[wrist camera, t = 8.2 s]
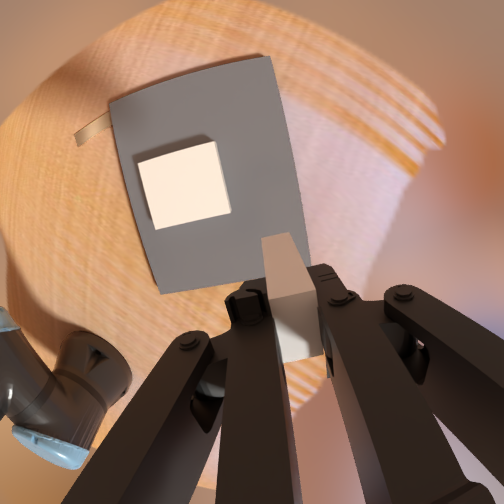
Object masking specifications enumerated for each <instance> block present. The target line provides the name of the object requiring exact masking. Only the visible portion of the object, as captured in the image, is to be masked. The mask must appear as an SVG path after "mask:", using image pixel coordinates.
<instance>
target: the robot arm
mask: <svg viewBox="0 0 504 504" xmlns="http://www.w3.org/2000/svg"><path fill="white" fill-rule="evenodd" d="M261 242H262V250H263V258H264V267H265V275H266V277H263V278H258V279H253V280H249V281H245V282H244V283H243V284H242V285H241V287H240V289H239V290H237V291H235V292H233V293H231V294H230V295H229V296H227V297H226V299H225V301H224V302H225V305H226V308H227V311H228V314H229V317H230V321H231V329H230V330H229V331H227V332H225V333H223V334H221V335H219V336H216V337H213V338H209V336H208V334H207V333H205V332H204V331H198V330H196V331H189V332H186V333H183V334H182V335H180V336H178V337H176V338H175V339H174V340H173V341H172V343H171V344H170V345H169V347H168V348H167V350H166V351H165V352H164V354H163V355H162V357H161V358H160V359H159V361H158V362H157V364H156V365H155V367H154V368H153V369H152V371H151V372H150V374H149V375H148V377H147V378H146V379H145V381H144V382H143V384H142V385H141V387H140V388H139V389H138V391H137V392H136V394H135V395H134V397H133V398H132V399H131V401H130V402H129V404H128V405H127V407H126V408H125V409H124V411H123V412H122V414H121V415H120V417H119V418H118V420H117V421H116V422H115V424H114V425H113V427H112V428H111V430H110V431H109V433H108V434H107V436H106V437H105V438H104V440H103V441H102V443H101V444H100V446H99V447H98V449H97V450H96V452H95V453H94V455H93V456H92V458H91V459H90V461H89V462H88V464H87V465H86V466H85V468H84V469H83V471H82V472H81V474H80V476H79V477H78V478H77V480H76V481H75V483H74V484H73V486H72V487H71V489H70V491H69V492H68V494H67V495H66V496H65V498H64V499H63V501H62V502H61V504H189V502H190V500H191V497H192V495H193V493H194V490H195V488H196V486H197V483H198V481H199V478H200V476H201V474H202V471H203V469H204V466H205V464H206V462H207V459H208V457H209V454H210V452H211V449H212V447H213V444H214V442H215V439H216V437H217V434H218V432H219V429H220V427H221V437H220V449H219V461H218V474H217V486H216V499H215V504H303V501H302V493H301V485H300V477H299V470H298V461H297V454H296V447H295V439H294V431H293V424H292V417H291V410H290V403H289V396H288V389H287V382H286V375H285V370H284V365H283V363H286V362H291V361H296V360H301V359H306V358H310V357H314V356H319V355H323V354H324V353H323V348H324V351H325V356H326V367H327V378H331V381H332V384H333V387H334V390H335V394H336V397H337V400H338V404H339V407H340V410H341V414H342V417H343V421H344V424H345V427H346V431H347V434H348V438H349V441H350V445H351V449H352V452H353V456H354V459H355V463H356V467H357V471H358V474H359V478H360V482H361V486H362V490H363V494H364V498H365V502H366V504H496V503H495V501H494V499H493V497H492V495H491V493H490V492H489V490H488V488H486V487H485V486H484V485H482V484H481V483H476V482H471V481H469V480H468V479H467V478H466V477H465V475H464V474H463V472H462V469H461V467H460V465H459V463H458V461H457V459H456V457H455V455H454V453H453V451H452V449H451V447H450V445H449V443H448V441H447V439H446V437H445V435H444V433H443V431H442V429H441V427H440V426H439V424H438V422H437V420H436V418H435V416H436V417H437V418H438V419H439V420H440V421H441V422H442V423H443V424H444V425H445V426H446V427H447V428H448V429H449V430H450V431H451V432H452V433H453V434H454V435H455V436H456V437H457V438H458V439H459V440H460V441H461V442H462V443H463V444H464V445H465V446H466V447H467V449H468V450H469V451H470V452H471V453H472V454H473V455H474V456H475V457H476V458H477V459H478V460H479V461H480V462H481V463H482V464H483V465H484V466H485V467H486V468H487V469H488V470H489V472H490V473H491V474H492V475H493V476H494V477H495V478H496V479H497V480H498V481H499V482H500V483H501V484H502V485H503V486H504V340H503V339H501V338H500V337H498V336H497V335H495V334H494V333H492V332H491V331H489V330H487V329H486V328H484V327H483V326H481V325H480V324H478V323H476V322H475V321H473V320H471V319H470V318H468V317H466V316H465V315H463V314H462V313H460V312H458V311H457V310H455V309H453V308H452V307H450V306H448V305H447V304H445V303H443V302H442V301H440V300H438V299H436V298H435V297H433V296H431V295H430V294H428V293H426V292H424V291H423V290H421V289H419V288H417V287H415V286H412V285H406V284H402V285H396V286H393V287H391V288H389V289H388V290H386V292H385V293H384V300H379V301H363V300H362V299H361V298H360V296H359V295H358V294H357V293H356V292H354V291H350V290H347V289H346V287H345V286H344V284H343V283H342V281H341V280H340V278H338V275H337V274H336V273H335V271H334V269H333V268H332V267H331V266H329V265H327V264H319V265H315V266H310V267H305V265H304V262H303V260H302V258H301V256H300V254H299V252H298V250H297V248H296V246H295V243H294V241H293V239H292V237H291V235H290V233H289V232H287V233H282V234H277V235H273V236H268V237H263V238H261ZM20 329H21V328H20V327H19V326H18V325H17V324H16V323H15V321H14V320H13V319H12V317H11V316H10V314H9V313H8V311H7V310H6V309H5V308H3V307H1V306H0V421H1V419H2V418H3V417H4V415H6V416H7V417H8V418H9V419H10V420H11V421H12V422H13V423H14V425H13V427H12V434H13V435H14V437H16V438H17V440H18V441H19V442H20V443H22V444H23V445H24V446H25V447H27V448H28V449H29V450H31V451H32V452H34V453H35V454H37V455H39V456H40V457H42V458H44V459H46V460H47V461H49V462H51V463H53V464H56V465H58V466H61V467H63V468H67V469H72V470H73V469H78V468H80V467H81V465H82V463H83V462H84V460H85V458H86V457H87V455H88V454H89V450H90V448H91V445H92V443H93V441H94V439H95V436H96V434H97V432H98V430H99V427H100V425H101V423H102V421H103V419H104V416H105V414H106V412H107V410H108V409H109V408H110V407H111V406H112V405H114V404H115V403H116V402H117V401H118V400H119V399H120V398H121V397H123V396H124V395H125V394H126V393H127V391H128V389H129V387H130V385H131V383H132V373H131V370H130V367H129V365H128V363H127V362H126V360H125V359H124V358H123V356H122V355H121V354H120V353H119V352H118V351H117V350H116V349H115V348H114V347H113V346H112V345H110V344H109V343H108V342H106V341H105V340H103V339H101V338H100V337H98V336H96V335H93V334H90V333H87V332H80V331H79V332H73V333H71V334H69V335H68V337H67V338H66V339H65V340H64V341H63V343H62V344H61V347H60V351H59V354H58V357H57V360H56V364H55V367H54V370H53V371H52V372H51V371H50V369H49V368H48V367H47V365H46V364H45V363H44V362H43V360H42V359H41V358H40V357H39V355H38V354H37V353H36V351H35V350H34V349H33V347H32V346H31V345H30V343H29V342H28V340H27V339H26V337H25V336H24V334H23V333H22V331H21V330H20ZM418 340H419V341H421V342H422V343H423V344H424V346H422V345H420V344H419V343H418ZM433 414H434V415H435V416H434V415H433ZM221 424H222V426H221Z"/></svg>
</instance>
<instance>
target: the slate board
mask: <svg viewBox="0 0 504 504" xmlns="http://www.w3.org/2000/svg"><path fill="white" fill-rule="evenodd" d="M109 107H110V113H111V119H112V124H113V129H114V134H115V139H116V144H117V149H118V153H119V158H120V162H121V167H122V171H123V175H124V179H125V183H126V187H127V191H128V194H129V198H130V202H131V205H132V209H133V213H134V216H135V219H136V223H137V226H138V229H139V233H140V236H141V239H142V242H143V245H144V249H145V252H146V255H147V258H148V261H149V263H150V266H151V269H152V272H153V275H154V278H155V281H156V283H157V286H158V289H159V291H160V294H161V295H162V294H168V293H175V292H181V291H187V290H193V289H199V288H205V287H211V286H217V285H223V284H229V283H235V282H240V281H246V280H252V279H257V278H263V277H266V275H265V267H264V258H263V250H262V242H261V238H263V237H268V236H273V235H277V234H282V233H287V232H289V233H290V235H291V237H292V239H293V241H294V243H295V246H296V248H297V250H298V252H299V254H300V256H301V258H302V260H303V262H304V265H305V267H310V266H311V259H310V252H309V245H308V239H307V232H306V226H305V220H304V213H303V207H302V202H301V196H300V190H299V184H298V179H297V174H296V168H295V163H294V158H293V153H292V148H291V143H290V138H289V134H288V129H287V124H286V120H285V115H284V111H283V106H282V102H281V98H280V93H279V89H278V85H277V81H276V77H275V73H274V69H273V65H272V61H271V58H270V56H266V57H259V58H254V59H248V60H243V61H238V62H233V63H229V64H224V65H220V66H216V67H212V68H208V69H204V70H200V71H197V72H193V73H190V74H186V75H183V76H180V77H177V78H173V79H170V80H167V81H164V82H162V83H159V84H156V85H153V86H150V87H148V88H145V89H142V90H140V91H137V92H135V93H132V94H130V95H127V96H125V97H123V98H120V99H118V100H116V101H114V102H111V103H109ZM213 141H215V142H216V144H217V148H218V152H219V157H220V161H221V166H222V170H223V175H224V179H225V183H226V188H227V192H228V196H229V201H230V205H231V209H232V211H231V213H228V214H223V215H219V216H214V217H210V218H205V219H200V220H196V221H192V222H187V223H183V224H178V225H174V226H170V227H166V228H162V229H157V230H155V226H154V223H153V220H152V216H151V213H150V209H149V205H148V202H147V198H146V194H145V190H144V187H143V183H142V179H141V175H140V171H139V166H138V163H141V162H144V161H147V160H150V159H153V158H156V157H159V156H162V155H166V154H169V153H172V152H176V151H179V150H183V149H186V148H190V147H194V146H197V145H201V144H205V143H209V142H213Z"/></svg>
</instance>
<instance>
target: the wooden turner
mask: <svg viewBox="0 0 504 504" xmlns="http://www.w3.org/2000/svg"><path fill="white" fill-rule="evenodd" d="M112 125H113V124H112V119H111V113H110V111H109V112H107V113H105V114H104V115H102V116H101V117H99V118H98V119H96V120H95V121H93V122H92V123H90V124H89V125H87V126H86V127H84V128H83V129H81V130H80V131H79V132H77V133H76V134H74V136H75V139H76V143H77V146H78V147H80V146H81V145H82V144H84V143H85V142H87V141H88V140H90V139H91V138H93V137H94V136H96V135H97V134H99V133H101V132H102V131H104V130H105V129H107V128H109V127H110V126H112Z"/></svg>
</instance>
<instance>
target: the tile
mask: <svg viewBox="0 0 504 504" xmlns="http://www.w3.org/2000/svg"><path fill="white" fill-rule="evenodd" d="M138 166H139V171H140V175H141V179H142V183H143V187H144V190H145V194H146V198H147V202H148V205H149V209H150V213H151V216H152V220H153V223H154V226H155V230H157V229H162V228H166V227H170V226H174V225H178V224H183V223H187V222H192V221H196V220H200V219H205V218H210V217H214V216H219V215H223V214H228V213H231V211H232V209H231V205H230V201H229V196H228V192H227V188H226V183H225V179H224V175H223V170H222V166H221V161H220V157H219V152H218V148H217V144H216V142H215V141H213V142H209V143H205V144H201V145H197V146H194V147H190V148H186V149H183V150H179V151H176V152H172V153H169V154H166V155H162V156H159V157H156V158H153V159H150V160H147V161H144V162H141V163H138Z"/></svg>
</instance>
